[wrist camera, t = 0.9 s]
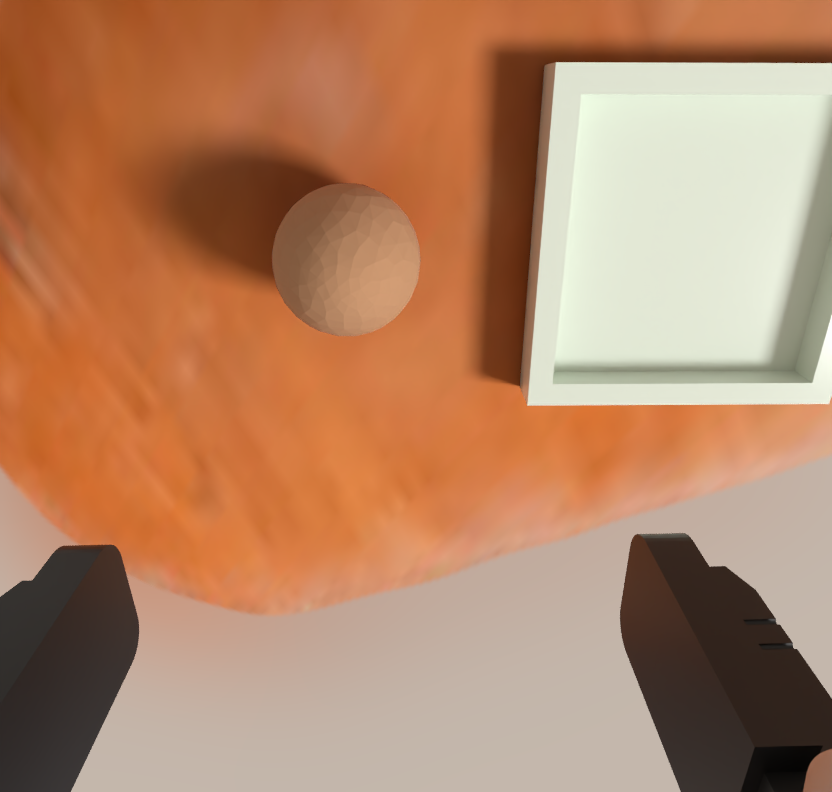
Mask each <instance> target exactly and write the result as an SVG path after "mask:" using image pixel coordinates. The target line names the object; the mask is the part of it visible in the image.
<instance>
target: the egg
mask: <svg viewBox="0 0 832 792" xmlns="http://www.w3.org/2000/svg"><path fill="white" fill-rule="evenodd" d="M272 268H273V273H274V278H275V282H276V287H277V289H278V291H279V293H280V295H281V296H282V298H283V300H284V302H285V304H286V305H287V306H288V307H289V308H290V309H291V311H292V312H293V313H294V314H295V315H296V316H297V317H298V318H299V319H301V320H302V321H303V322H305V323H306V324H308V325H309V326H310V327H312V328H315V329H317V330H319V331H321V332H325V333H329V334H332V335H336V336H358V335H362V334H366V333H370V332H373V331H375V330H378V329H380V328H382V327H383V326H385V325H386V324H388V323H389V322H391V321H392V320H393V319H395V317H396V316H397V315H398V314H399V313H400V312H401V311H402V310H403V308H404V307H405V306H406V304H407V303H408V302H409V300H410V299H411V297H412V294H413V292H414V289H415V287H416V285H417V282H418V275H419V268H420V249H419V244H418V240H417V236H416V233H415V230H414V228H413V226H412V224H411V222H410V220H409V218H408V217H407V215H406V214H405V213H404V212H403V211H402V209H401V208H400V207H399V206H398V205H397V204H396V203H395V202H394V201H392V200H391V199H390V198H389V197H387V196H386V195H385V194H383V193H380V192H378V191H376V190H374V189H372V188H370V187H368V186H365V185H360V184H351V183H337V184H332V185H327V186H324V187H321V188H319V189H316V190H314V191H312V192H310V193H308V194H307V195H305V196H304V197H303V198H301V199H300V200H299V201H298V202H297V203H295V204H294V205H293V206H292V207H291V209H290V210H289V211H288V213H287V214H286V215H285V217H284V219H283V220H282V222H281V224H280V226H279V228H278V230H277V232H276V236H275V240H274V245H273V250H272Z"/></svg>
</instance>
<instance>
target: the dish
mask: <svg viewBox="0 0 832 792" xmlns="http://www.w3.org/2000/svg"><path fill="white" fill-rule="evenodd" d="M520 388H521V391H522V393H523V396H524V398H525V401H526V403H527V405H712V404H829V402H830V399H831V396H832V63H637V62H555V63H551V64H547V65H544V78H543V91H542V104H541V117H540V130H539V143H538V156H537V169H536V182H535V195H534V208H533V221H532V235H531V248H530V261H529V274H528V287H527V300H526V313H525V326H524V339H523V352H522V365H521V378H520Z"/></svg>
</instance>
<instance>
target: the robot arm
mask: <svg viewBox="0 0 832 792" xmlns="http://www.w3.org/2000/svg"><path fill="white" fill-rule="evenodd" d="M620 624H621V633H622V639H623V643H624V647H625V650H626V653H627V655H628V658H629V661H630V663H631V666H632V668H633V670H634V673H635V676H636V678H637V681H638V683H639V686H640V688H641V691H642V693H643V696H644V699H645V701H646V704H647V706H648V709H649V711H650V714H651V717H652V719H653V722H654V724H655V726H656V729H657V732H658V734H659V737H660V739H661V742H662V745H663V747H664V750H665V752H666V755H667V757H668V760H669V762H670V765H671V767H672V770H673V773H674V775H675V778H676V780H677V783H678V785H679V788H680V790H681V792H832V699H831V697H830V696H829V694H828V693H827V691H826V690H825V688H824V687H823V686H822V684H821V683H820V681H819V680H818V678H817V677H816V676H815V674H814V673H813V672H812V670H811V668H810V667H809V666H808V664H807V663H806V661H805V660H804V658H803V657H802V656H801V654H800V653H799V651H798V650H797V649H794V648H793V645H792V644H793V643H792V641H791V640H790V638H789V637H788V636H787V634H786V633H785V631H784V630H783V629H782V627H781V626H780V625H777V624H776V619H775V617H774V616H773V614H772V613H771V611H770V610H769V609H768V607H767V606H766V604H765V603H764V601H763V600H762V598H761V597H760V596H759V594H758V593H757V591H756V590H755V589H754V588H752V587H751V586H750V585H748V584H747V583H746V582H745V581H743V580H742V579H741V578H739V577H738V576H737V575H735V574H734V573H733V572H731V571H730V570H729V569H728V568H727V567H725V566H721V567H709V565H708V564H707V562H706V561H705V559H704V558H703V556H702V554H701V553H700V551H699V550H698V548H697V547H696V545H695V543H694V542H693V540H692V539H691V538H690V537H689V536H688V535H687V534H685V533H674V534H673V533H672V534H637V535H635V536H634V537H633V539H632V542H631V546H630V552H629V559H628V565H627V571H626V577H625V583H624V590H623V596H622V602H621V610H620ZM138 637H139V622H138V617H137V613H136V609H135V605H134V601H133V598H132V594H131V590H130V587H129V583H128V580H127V576H126V572H125V568H124V564H123V561H122V557H121V554H120V552H119V550H118V549H117V547H115V546H114V545H79V546H62V547H60V548H58V549H57V550H56V551H55V552H54V553H53V554H52V555H51V557H50V558H49V559H48V561H47V562H46V563H45V565H44V566H43V567H42V569H41V570H40V571H39V572H38V574H37V575H36V576H35V578H34V579H33V580H32V581H22V582H20V583H19V584H17V585H16V586H15V587H13V588H12V589H10V590H9V591H8V592H6V593H5V594H4V595H2V596H1V597H0V792H71V790H72V788H73V786H74V784H75V782H76V779H77V777H78V775H79V773H80V771H81V769H82V767H83V765H84V763H85V761H86V759H87V756H88V754H89V752H90V750H91V748H92V746H93V744H94V742H95V739H96V737H97V735H98V733H99V731H100V729H101V727H102V725H103V723H104V721H105V719H106V717H107V714H108V712H109V710H110V708H111V706H112V704H113V702H114V700H115V697H116V696H117V693H118V691H119V689H120V687H121V685H122V683H123V681H124V679H125V677H126V675H127V673H128V670H129V668H130V666H131V664H132V662H133V660H134V657H135V654H136V650H137V645H138V639H139V638H138Z"/></svg>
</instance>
